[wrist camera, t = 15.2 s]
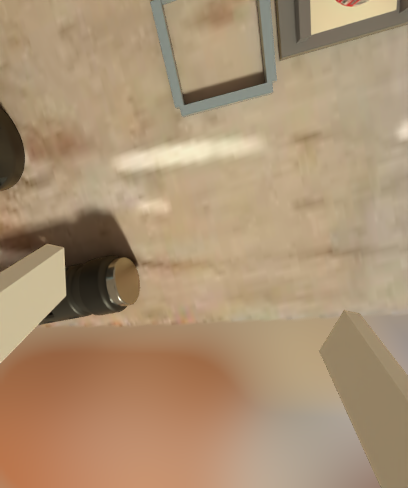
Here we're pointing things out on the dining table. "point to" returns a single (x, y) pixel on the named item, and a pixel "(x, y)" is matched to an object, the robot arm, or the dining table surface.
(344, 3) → the soda can
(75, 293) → the thermos bottle
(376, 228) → the dining table surface
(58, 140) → the dining table surface
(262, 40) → the frame
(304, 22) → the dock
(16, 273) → the robot arm
